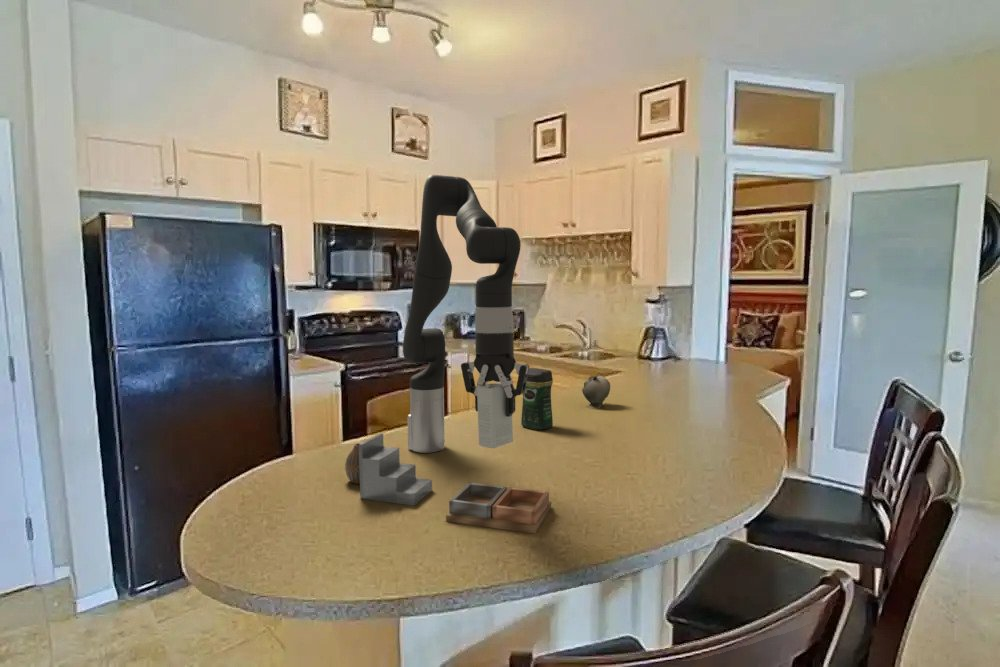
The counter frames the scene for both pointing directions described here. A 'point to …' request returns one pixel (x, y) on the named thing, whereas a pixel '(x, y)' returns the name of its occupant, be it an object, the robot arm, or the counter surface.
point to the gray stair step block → (388, 475)
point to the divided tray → (499, 507)
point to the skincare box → (493, 416)
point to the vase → (353, 465)
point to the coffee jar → (537, 400)
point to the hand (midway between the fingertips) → (495, 414)
